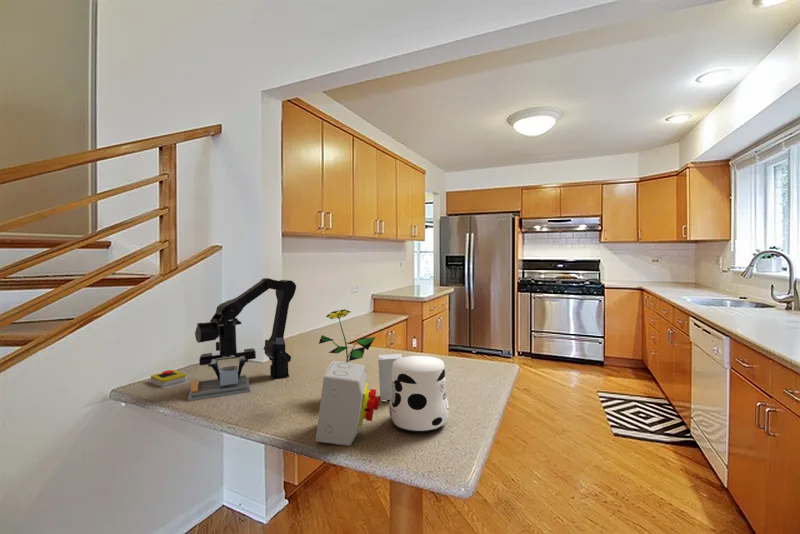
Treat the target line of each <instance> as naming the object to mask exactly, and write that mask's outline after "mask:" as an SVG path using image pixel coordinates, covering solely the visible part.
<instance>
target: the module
mask: <svg viewBox="0 0 800 534" xmlns="http://www.w3.org/2000/svg"><path fill="white" fill-rule="evenodd" d="M238 367H239V365H231V366H230V365H229V366H222V367H219V372H220V386H224V385H231V384H238Z"/></svg>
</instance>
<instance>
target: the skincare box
mask: <svg viewBox="0 0 800 534" xmlns="http://www.w3.org/2000/svg"><path fill="white" fill-rule="evenodd" d="M399 358H403V356H402V353H393V354H392V353H390V354H389V353H388V354H378V359H377V360H378V361H377V362H378V376H379V379H378V380H379V395H380V396H379V397H380V399H379V400H380V401H381V400H390V399H391V395H392V365H393V362H394V361H395V360H397V359H399Z"/></svg>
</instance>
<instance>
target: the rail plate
mask: <svg viewBox="0 0 800 534" xmlns="http://www.w3.org/2000/svg"><path fill="white" fill-rule="evenodd" d="M250 384H251V383H250V378H249V377H248V378H247V374H246V373H241V374H240V377H239V378H238V384H231V385H224V386H220V381H219V380H218V377H217V376H216V377H210V378H203V379H195V380H193V381H192V384H191V387H190V390H189V394H188V396H187V402H191V401H198V400H199V401H200V400H205V399H206V400H207V399H212V398H213V399H214V398H217V397H224V396H231V395H239V394H245V393H251V385H250Z"/></svg>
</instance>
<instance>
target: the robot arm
mask: <svg viewBox="0 0 800 534" xmlns="http://www.w3.org/2000/svg"><path fill="white" fill-rule="evenodd" d="M270 289H271V290H275V297H276V300H277V301H276V307H275V313H274V319H273V324H272V331H271V335H270V337H269V339H265V340H264V345H263V346H264V347H263V348H262V349H263V350H264V354H265V356H266V357H268V360H269V361H271V364H270V365H269V370H270V371H269V372H270V374H269V375H270V377H271V378H272V380H276V379H281V378H283V379H285V378H289V377H290V374H289V363H290V362H291V359H292V356H291V355H290V354H289V353H288V352H287V351H286V341H285V332H286V331H285V329H286V325H287V319H288V313H289V308H290V306H289V305H290V303H291V301H292V299H293V298H294V295H295V293H296V290H297V284H296V283H295V282H294V281H293V280H290V279H289V280H288V279H279V280H276V279H272V278H267V277H264V278H261V280H260V281H258V282H257V283H255V284H254V285H252V286H251V287H250V288H248V289H247V290H245V291H244V292H243V293H241V294H239V295H238V296H236V297H235V298H233V299H229V300H226V301H224V302H222V303H220V304H218V306H217V307H216V310H215V312H214V314H213V316H212V318H211V319H210V321H207V322H197V323H196V328H195V332H194V337H195V340H196V342H197V344H198V343H199V344H200V343H206V342H211V341H215V351H216V352H218V351H219V354H214V355H213V353H212V352H208V353H202V354H200V355H199V360H198V361H199V362H198V363H199V366H207V365H208V367H211V369H212V370H213V372H214V373H215V375H216V378H217V377H218V380H219V381H220V367H219V361H221V360H230V359H231V360H232V359H239V360H238V378H239V377H240V374H242V370H243V367H244V366H245V364H246V363H248V362H249V361H250V360H255V359H257V354H256V349H254V348H244V350H243V351H240V352H238V350H237V349H238V346H237V328H236V327H237V325H242V321H240V320H239V319H238V318H237V317H238V316H239V315H240V314H241V312H242V311H243V310H244V308H245V307H246V306H247V305H249V304H250V303H251V302H253V301H254V300H256V299H257V298H258V297H260V296H261V295H263V294H264V293H265V292H266V291H268V290H270ZM217 339H218V341H216V340H217Z"/></svg>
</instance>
